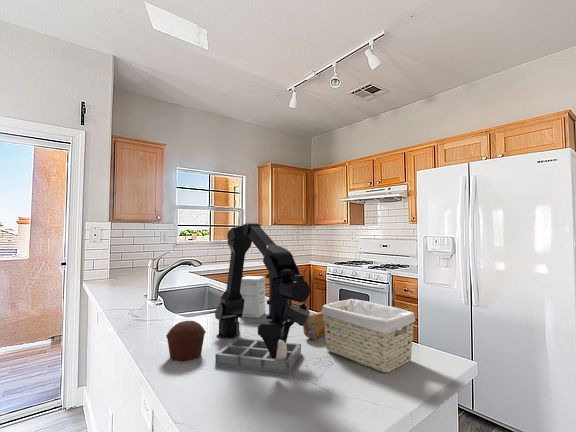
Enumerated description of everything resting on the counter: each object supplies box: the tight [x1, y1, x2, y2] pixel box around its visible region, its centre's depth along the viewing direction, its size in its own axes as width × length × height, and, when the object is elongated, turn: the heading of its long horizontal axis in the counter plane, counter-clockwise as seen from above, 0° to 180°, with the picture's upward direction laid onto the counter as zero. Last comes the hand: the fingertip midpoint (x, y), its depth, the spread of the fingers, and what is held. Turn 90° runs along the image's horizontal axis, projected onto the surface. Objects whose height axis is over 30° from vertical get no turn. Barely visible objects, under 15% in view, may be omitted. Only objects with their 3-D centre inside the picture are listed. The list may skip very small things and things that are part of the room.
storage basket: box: [321, 298, 416, 374], centre depth 97 cm, size 24×16×15 cm
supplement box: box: [240, 275, 266, 319], centre depth 145 cm, size 10×9×17 cm
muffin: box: [166, 320, 207, 363], centre depth 97 cm, size 12×11×10 cm
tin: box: [302, 311, 329, 341], centre depth 116 cm, size 15×3×8 cm, turn 132°
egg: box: [275, 340, 287, 361], centre depth 90 cm, size 4×4×6 cm
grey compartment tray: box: [214, 337, 302, 375], centre depth 95 cm, size 21×15×3 cm
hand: (278, 352), depth 90 cm, fingers open, 9 cm apart
